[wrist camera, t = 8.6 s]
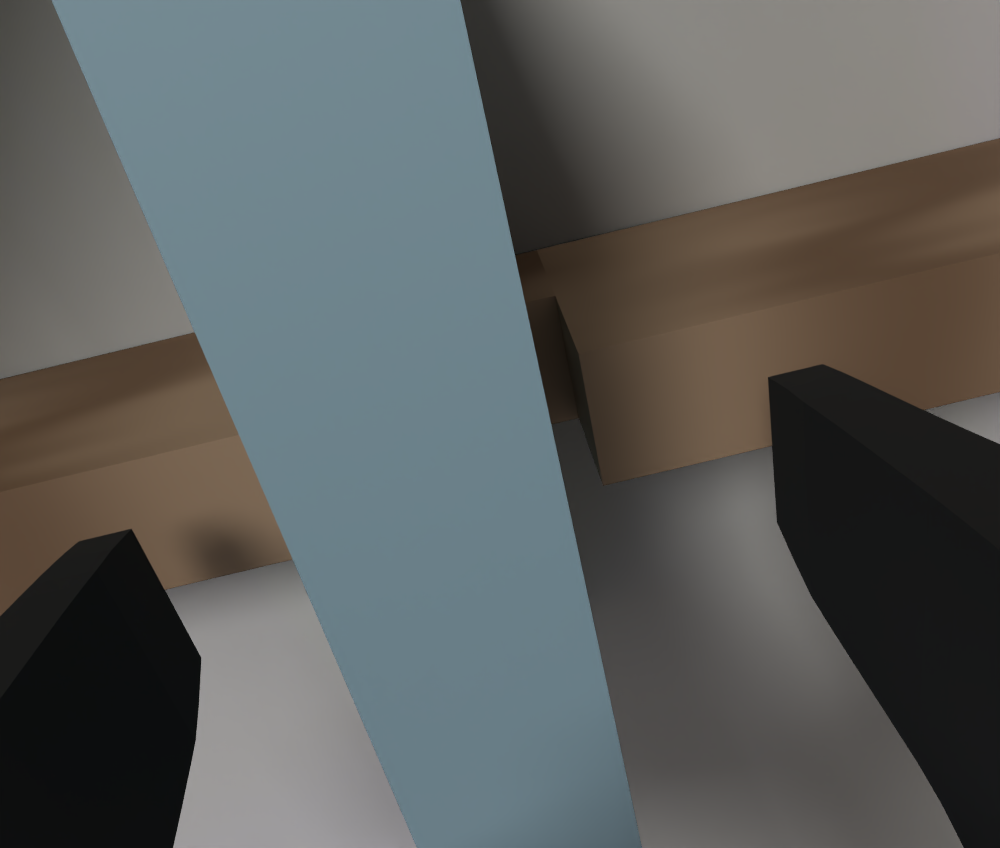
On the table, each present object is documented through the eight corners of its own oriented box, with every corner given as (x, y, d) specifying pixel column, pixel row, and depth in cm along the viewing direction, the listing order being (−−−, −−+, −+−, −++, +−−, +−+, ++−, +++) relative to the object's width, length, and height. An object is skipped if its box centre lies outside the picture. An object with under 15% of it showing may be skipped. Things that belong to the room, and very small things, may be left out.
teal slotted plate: (209, -200, 11) (-81, -306, 4) (376, -242, 11) (368, -423, 4) (474, 644, 18) (531, 1112, 11) (574, 620, 18) (691, 1076, 11)
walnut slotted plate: (1073, 120, 14) (1261, 190, 11) (1059, 243, 15) (1226, 337, 12) (-205, 429, 14) (-359, 578, 11) (-131, 528, 15) (-254, 688, 12)
